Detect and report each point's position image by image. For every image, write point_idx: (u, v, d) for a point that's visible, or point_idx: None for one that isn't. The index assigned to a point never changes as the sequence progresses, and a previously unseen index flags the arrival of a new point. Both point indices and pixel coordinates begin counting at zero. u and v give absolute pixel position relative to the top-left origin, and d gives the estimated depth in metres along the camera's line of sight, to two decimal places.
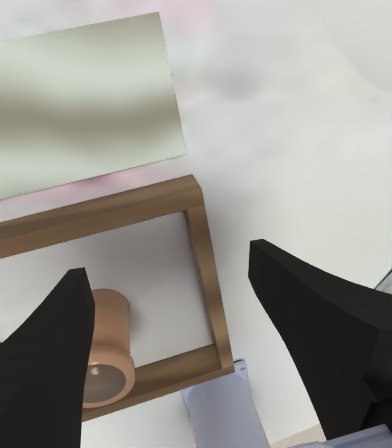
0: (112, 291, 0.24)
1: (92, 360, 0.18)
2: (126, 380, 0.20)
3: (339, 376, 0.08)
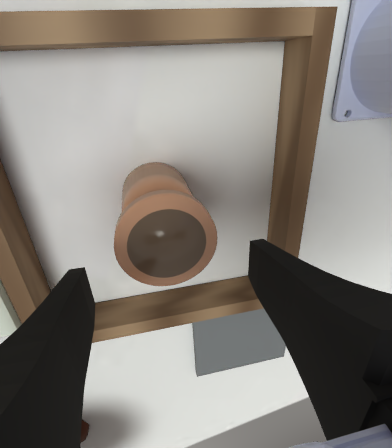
0: (126, 178, 0.19)
1: (119, 241, 0.14)
2: (174, 209, 0.13)
3: (339, 376, 0.08)
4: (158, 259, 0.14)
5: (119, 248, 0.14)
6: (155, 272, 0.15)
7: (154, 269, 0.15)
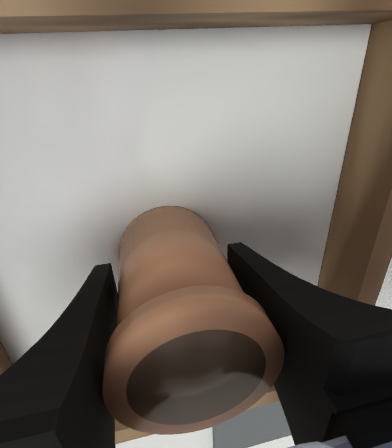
0: (126, 230, 0.13)
1: (111, 386, 0.07)
2: (216, 331, 0.07)
3: (304, 385, 0.07)
4: (182, 402, 0.08)
5: (112, 396, 0.07)
6: (176, 418, 0.09)
7: (174, 415, 0.08)
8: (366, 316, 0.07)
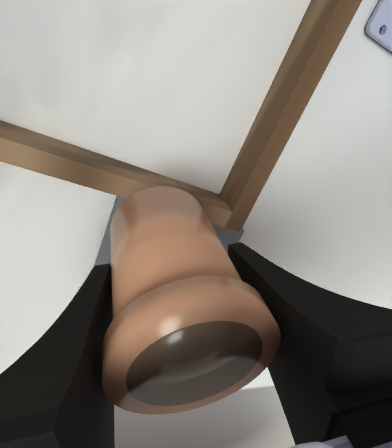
0: (116, 211, 0.12)
1: (111, 377, 0.07)
2: (215, 322, 0.07)
3: (305, 385, 0.08)
4: (180, 386, 0.08)
5: (112, 386, 0.08)
6: (175, 400, 0.09)
7: (173, 398, 0.09)
8: (367, 316, 0.07)
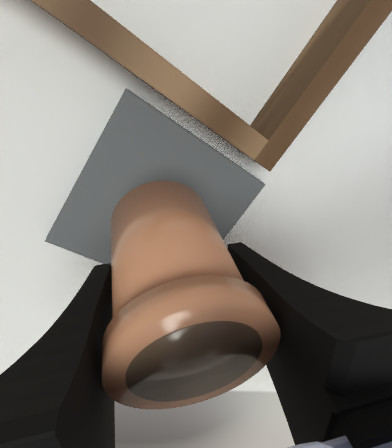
0: (117, 205, 0.12)
1: (110, 374, 0.07)
2: (215, 322, 0.07)
3: (305, 385, 0.08)
4: (179, 383, 0.08)
5: (112, 383, 0.08)
6: (174, 396, 0.09)
7: (172, 394, 0.09)
8: (366, 316, 0.07)
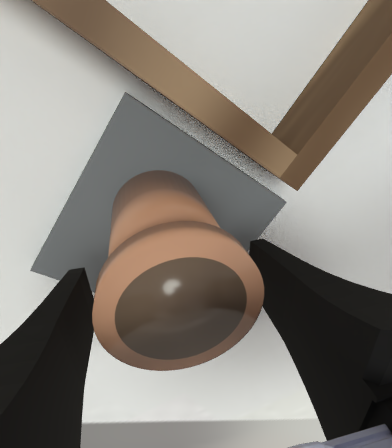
0: (117, 193, 0.13)
1: (100, 313, 0.08)
2: (197, 258, 0.08)
3: (339, 376, 0.08)
4: (168, 334, 0.09)
5: (102, 323, 0.08)
6: (164, 353, 0.09)
7: (161, 349, 0.09)
8: None
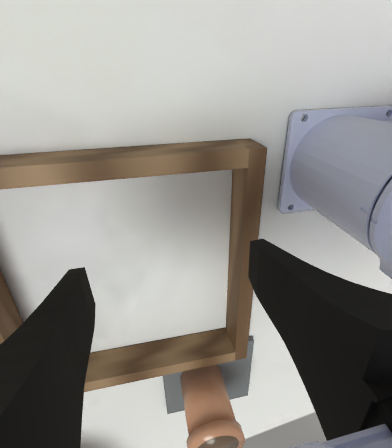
0: (180, 381, 0.31)
1: None
2: (209, 440, 0.24)
3: (339, 376, 0.08)
4: None
5: None
6: None
7: None
8: None
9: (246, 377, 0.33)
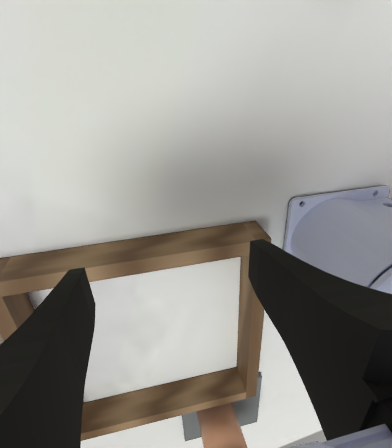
0: None
1: None
2: None
3: (339, 376, 0.08)
4: None
5: None
6: None
7: None
8: None
9: (255, 407, 0.37)
